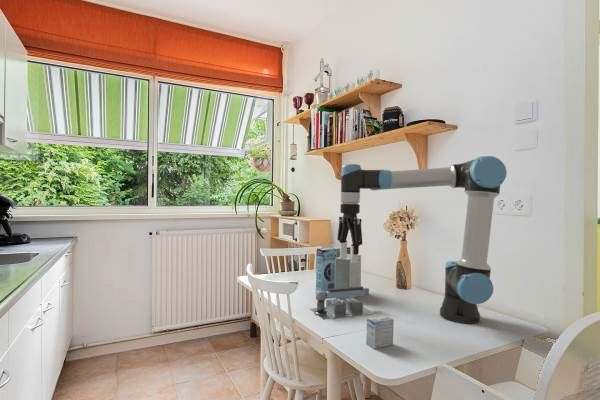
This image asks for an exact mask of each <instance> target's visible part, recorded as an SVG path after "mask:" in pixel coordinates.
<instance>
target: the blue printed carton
mask: <svg viewBox="0 0 600 400" xmlns="http://www.w3.org/2000/svg"><path fill="white" fill-rule="evenodd" d="M347 254H351V247H350V246H347ZM337 257H340V246H332V247H322V248H316V264H315V265H316V266H315V268H316V269H315V292H316V291H328V289H334V288H335V258H337Z"/></svg>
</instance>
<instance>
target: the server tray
mask: <svg viewBox="0 0 600 400" xmlns="http://www.w3.org/2000/svg"><path fill="white" fill-rule="evenodd" d="M325 301H326V300H322V301H321V300H316V302H317V303H316V307H315V308H313V307H312V308H309V310H310V311H311V312H313V313H314V315H316V316H318V317H320V318H321V320H333V319H340V318H341V319H343V318H349V317H350V318H351V317H359V316H369V315H375V314H376V312H374V311H372V310H370V309H368V308H367V307H365V306H363V312H361V313H353V314H352V313H350V312H349V311H347V310H346V314H344V315H333V314H332V313H331V312H329V311H328V310H326V306H325ZM376 315H377V314H376Z"/></svg>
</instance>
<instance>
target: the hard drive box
mask: <svg viewBox="0 0 600 400" xmlns="http://www.w3.org/2000/svg"><path fill="white" fill-rule="evenodd" d="M361 277H362V255H361V254H358V263H351V253H350V254H347V259H340V257H337V258H335V288H346V287H359V286H362V278H361ZM356 297H357V296H353V297H342V298H335V299H337V300H340V301H343V299H344V298H356Z"/></svg>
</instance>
